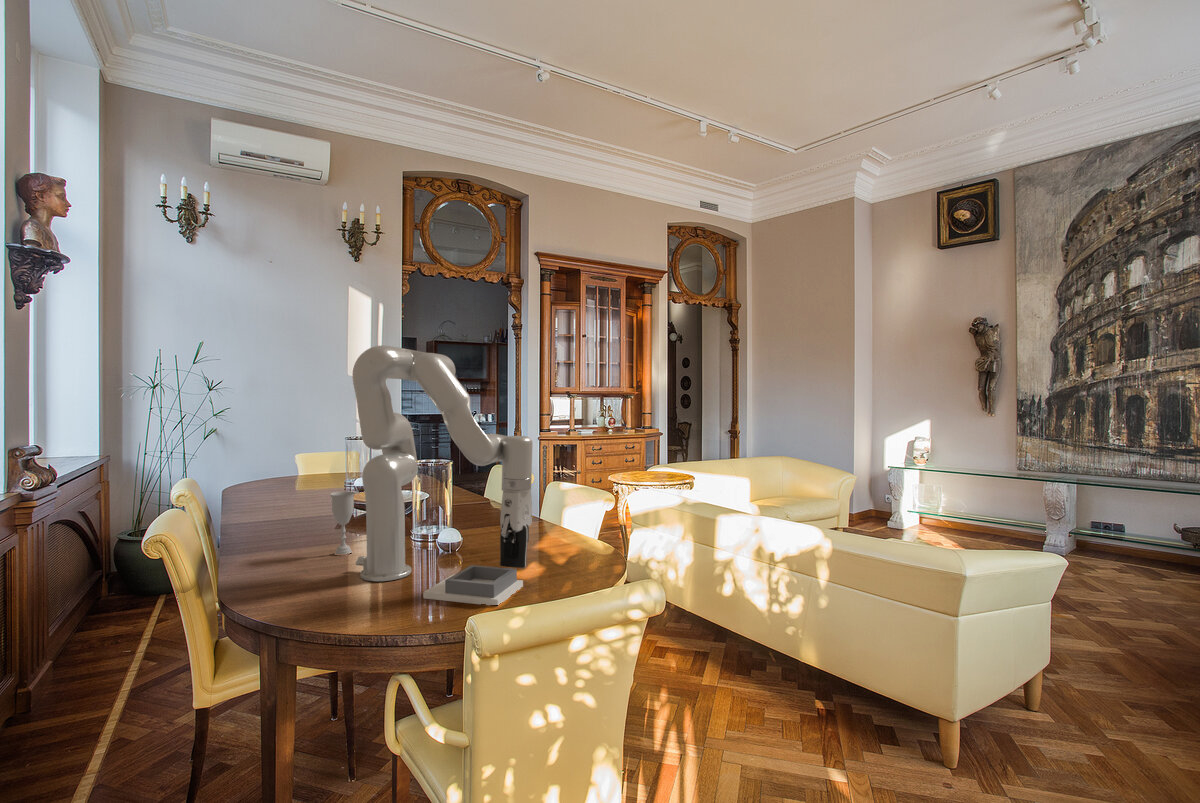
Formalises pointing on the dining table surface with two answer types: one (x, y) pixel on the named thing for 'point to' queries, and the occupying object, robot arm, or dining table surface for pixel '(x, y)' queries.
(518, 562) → the battery charger
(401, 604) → the dining table surface
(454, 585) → the dock
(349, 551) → the chalice
